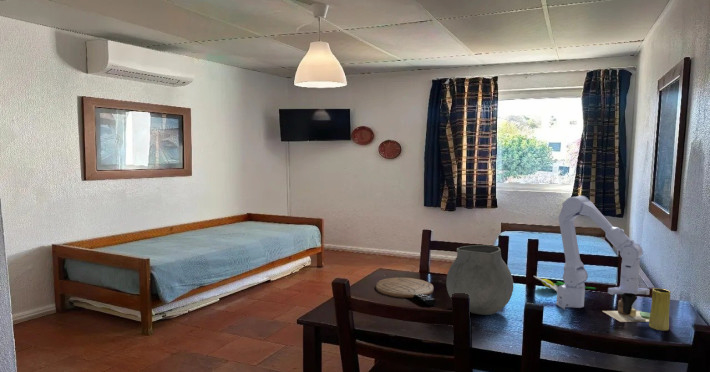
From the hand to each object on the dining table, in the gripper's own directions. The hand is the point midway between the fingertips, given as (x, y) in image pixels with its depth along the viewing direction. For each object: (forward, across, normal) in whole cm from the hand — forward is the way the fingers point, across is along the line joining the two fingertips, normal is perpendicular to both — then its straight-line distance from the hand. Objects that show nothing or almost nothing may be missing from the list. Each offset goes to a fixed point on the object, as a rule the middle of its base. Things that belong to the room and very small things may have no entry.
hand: (627, 313), depth 171 cm
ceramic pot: (+3, -52, +10) cm, 53 cm away
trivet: (+3, -75, +39) cm, 85 cm away
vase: (+3, +6, -9) cm, 11 cm away
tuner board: (+3, +2, +2) cm, 4 cm away
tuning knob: (+1, +1, +2) cm, 3 cm away
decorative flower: (+3, -3, +37) cm, 37 cm away
